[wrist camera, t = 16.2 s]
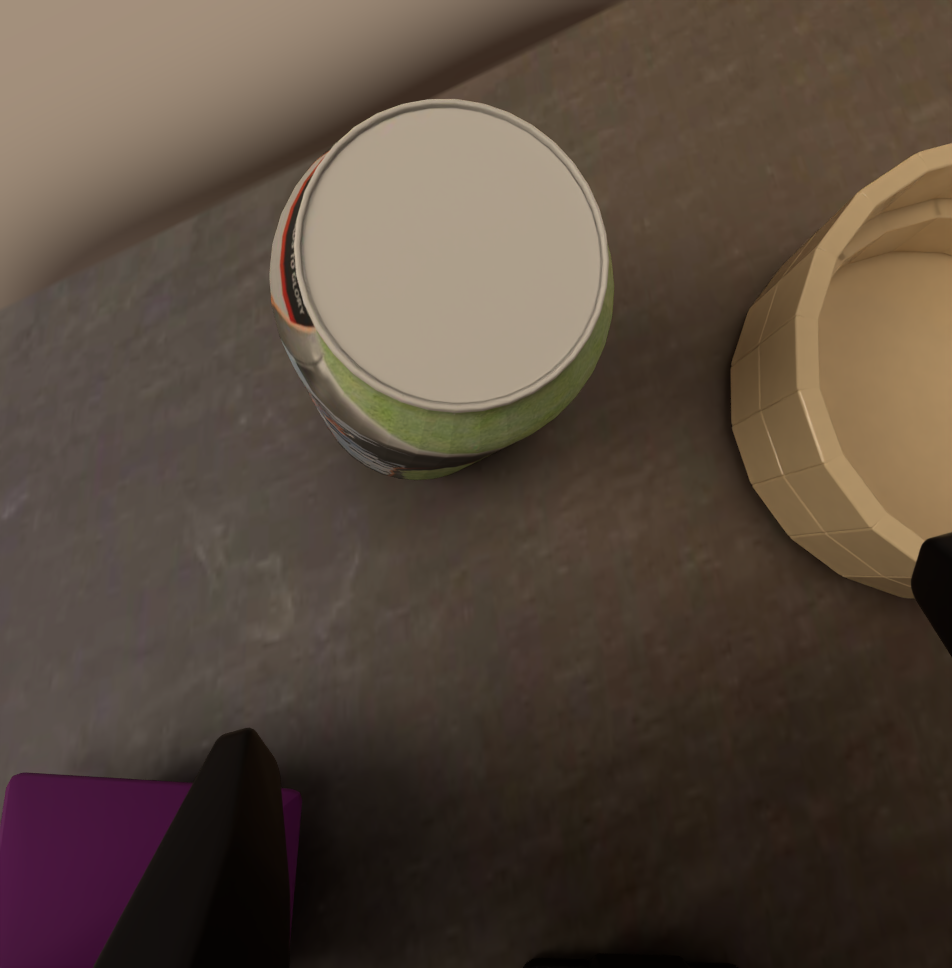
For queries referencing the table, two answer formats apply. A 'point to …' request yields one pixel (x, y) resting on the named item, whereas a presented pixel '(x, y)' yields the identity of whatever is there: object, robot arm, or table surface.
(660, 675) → the table surface
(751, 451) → the bowl
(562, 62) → the table surface
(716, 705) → the table surface
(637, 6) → the table surface
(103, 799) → the purple corked potion flask
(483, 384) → the beverage can
